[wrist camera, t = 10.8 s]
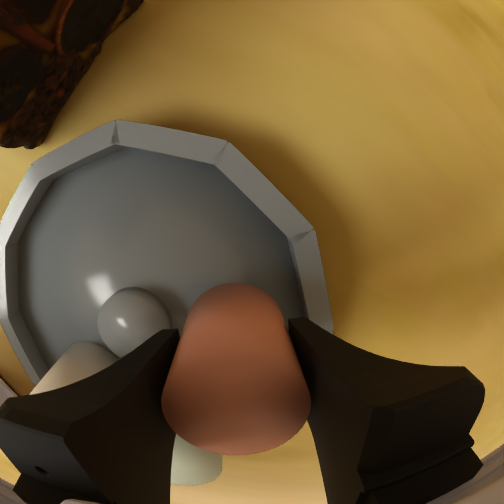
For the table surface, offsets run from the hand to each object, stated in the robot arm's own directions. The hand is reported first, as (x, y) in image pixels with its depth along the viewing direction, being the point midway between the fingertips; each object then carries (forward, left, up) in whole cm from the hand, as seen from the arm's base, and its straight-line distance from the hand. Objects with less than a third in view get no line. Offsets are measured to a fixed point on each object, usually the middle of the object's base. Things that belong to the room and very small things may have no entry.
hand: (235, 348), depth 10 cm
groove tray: (-4, +3, -4) cm, 6 cm away
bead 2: (0, 0, -2) cm, 2 cm away
